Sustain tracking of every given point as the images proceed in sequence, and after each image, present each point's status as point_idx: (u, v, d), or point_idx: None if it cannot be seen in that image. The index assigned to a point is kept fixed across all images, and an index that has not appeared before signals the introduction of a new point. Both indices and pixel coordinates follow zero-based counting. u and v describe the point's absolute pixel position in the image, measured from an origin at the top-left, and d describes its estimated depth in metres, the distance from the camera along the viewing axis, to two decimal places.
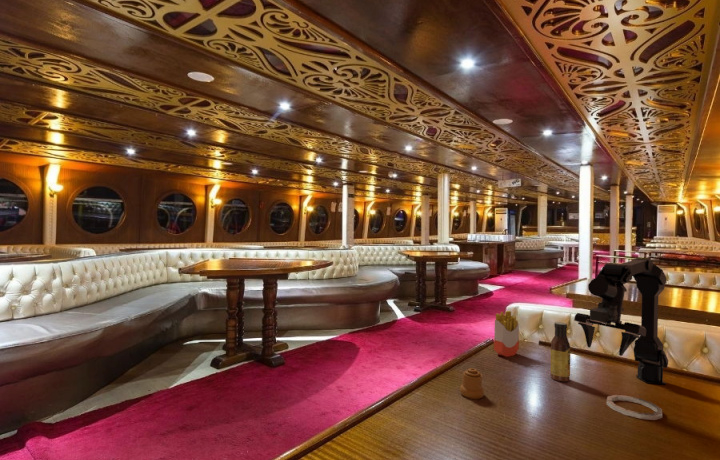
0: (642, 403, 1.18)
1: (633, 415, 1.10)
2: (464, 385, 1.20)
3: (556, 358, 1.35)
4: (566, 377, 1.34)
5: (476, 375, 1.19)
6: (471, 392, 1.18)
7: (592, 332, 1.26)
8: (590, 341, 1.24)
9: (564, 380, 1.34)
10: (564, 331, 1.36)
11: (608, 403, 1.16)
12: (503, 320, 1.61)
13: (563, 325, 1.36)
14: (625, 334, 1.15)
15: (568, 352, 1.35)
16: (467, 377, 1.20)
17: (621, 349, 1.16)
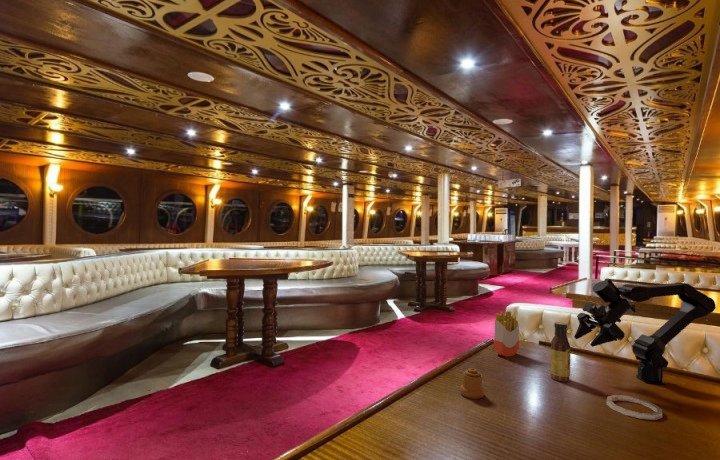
0: (642, 403, 1.18)
1: (633, 415, 1.10)
2: (464, 385, 1.20)
3: (556, 358, 1.35)
4: (566, 377, 1.34)
5: (476, 375, 1.19)
6: (471, 392, 1.18)
7: (586, 331, 1.43)
8: (579, 335, 1.42)
9: (564, 380, 1.34)
10: (564, 331, 1.36)
11: (608, 403, 1.16)
12: (503, 320, 1.61)
13: (563, 325, 1.36)
14: (602, 328, 1.32)
15: (568, 352, 1.35)
16: (467, 377, 1.20)
17: (593, 340, 1.33)
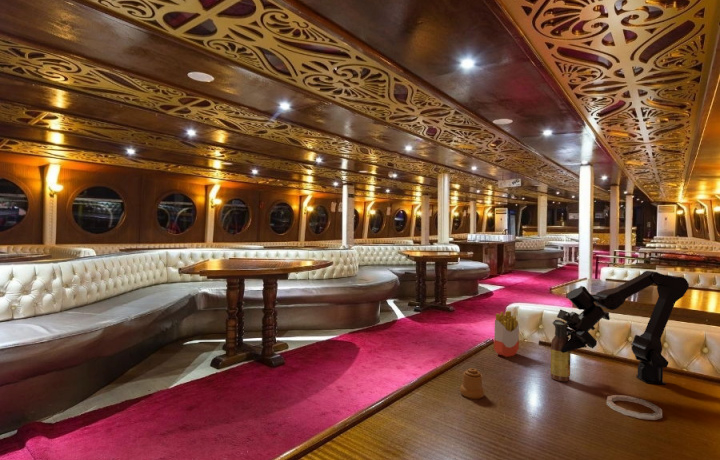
0: (642, 403, 1.18)
1: (633, 415, 1.10)
2: (464, 385, 1.20)
3: (556, 359, 1.35)
4: (566, 377, 1.34)
5: (476, 375, 1.19)
6: (471, 392, 1.18)
7: None
8: None
9: (564, 380, 1.34)
10: (564, 331, 1.36)
11: (608, 403, 1.16)
12: (503, 320, 1.61)
13: (563, 325, 1.36)
14: (572, 334, 1.33)
15: (568, 352, 1.35)
16: (467, 377, 1.20)
17: (564, 346, 1.34)
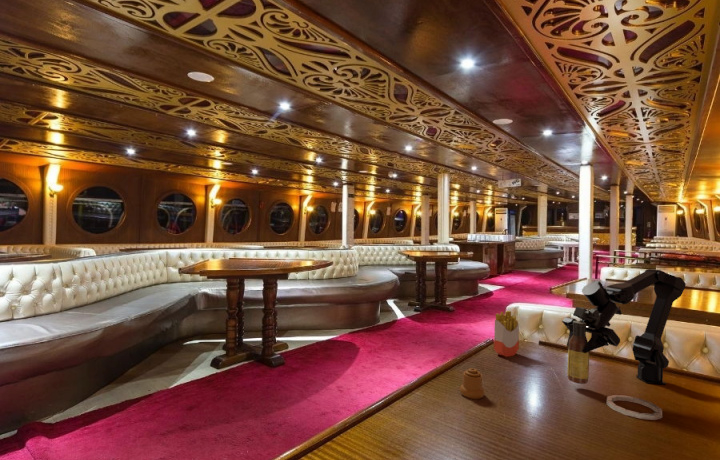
0: (642, 403, 1.18)
1: (633, 415, 1.10)
2: (464, 385, 1.20)
3: (577, 360, 1.27)
4: (586, 378, 1.27)
5: (476, 375, 1.19)
6: (471, 392, 1.18)
7: None
8: None
9: (584, 382, 1.26)
10: (584, 330, 1.28)
11: (608, 403, 1.16)
12: (503, 320, 1.61)
13: (584, 324, 1.27)
14: (594, 333, 1.25)
15: (588, 352, 1.27)
16: (467, 377, 1.20)
17: (586, 346, 1.26)
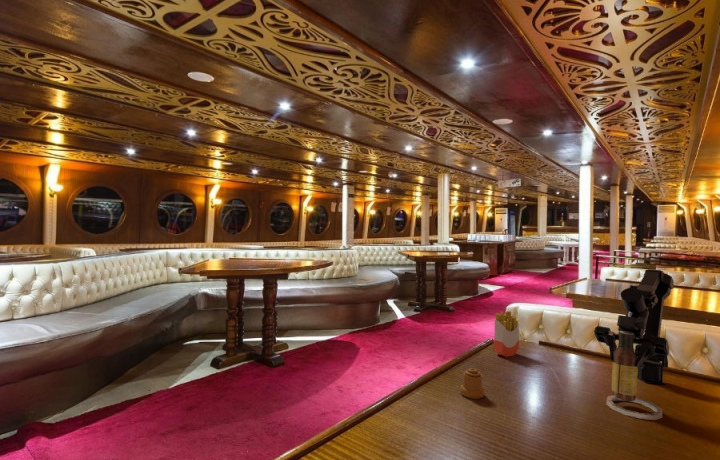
0: (642, 403, 1.18)
1: (633, 415, 1.10)
2: (464, 385, 1.20)
3: (629, 376, 1.14)
4: (635, 394, 1.15)
5: (476, 375, 1.19)
6: (471, 392, 1.18)
7: (615, 348, 1.21)
8: (613, 355, 1.19)
9: (634, 399, 1.15)
10: (633, 341, 1.16)
11: (608, 403, 1.16)
12: (503, 320, 1.61)
13: (633, 335, 1.15)
14: (645, 344, 1.14)
15: None
16: (467, 377, 1.20)
17: (638, 359, 1.14)
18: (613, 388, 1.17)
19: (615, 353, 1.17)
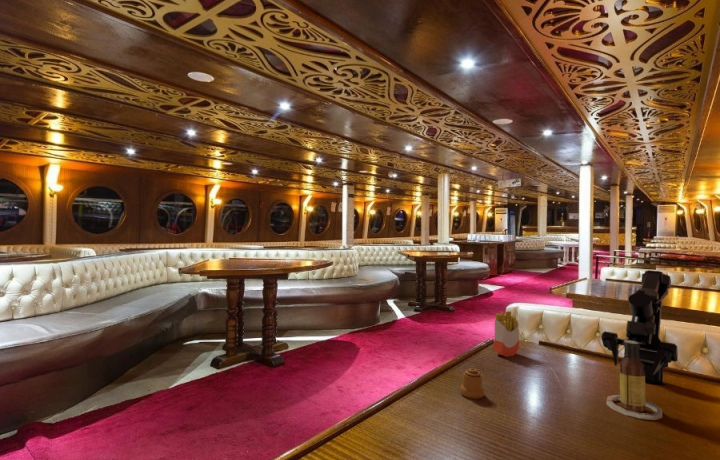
0: None
1: (633, 415, 1.10)
2: (464, 385, 1.20)
3: (638, 386, 1.12)
4: (645, 404, 1.14)
5: (476, 375, 1.19)
6: (471, 392, 1.18)
7: (617, 353, 1.21)
8: (617, 360, 1.18)
9: (644, 409, 1.13)
10: None
11: (608, 403, 1.16)
12: (503, 320, 1.61)
13: (639, 344, 1.14)
14: (661, 351, 1.12)
15: None
16: (467, 377, 1.20)
17: (655, 367, 1.11)
18: (622, 399, 1.15)
19: (622, 363, 1.16)
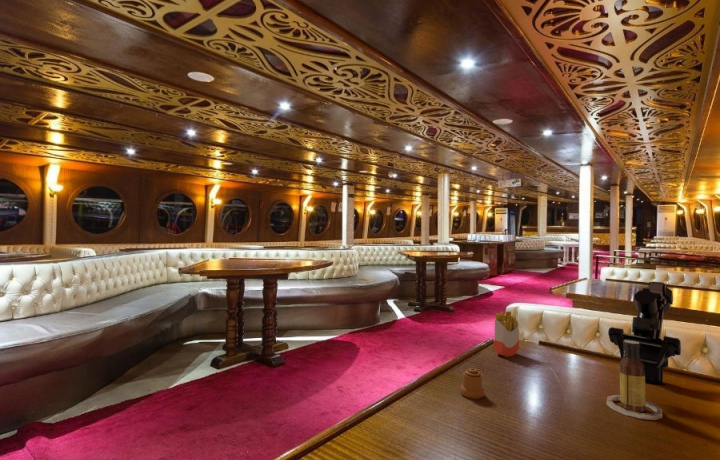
0: None
1: (633, 415, 1.10)
2: (464, 385, 1.20)
3: (638, 386, 1.12)
4: (645, 404, 1.14)
5: (476, 375, 1.19)
6: (471, 392, 1.18)
7: None
8: (623, 354, 1.25)
9: (644, 409, 1.13)
10: None
11: (608, 403, 1.16)
12: (503, 320, 1.61)
13: (639, 344, 1.14)
14: (665, 345, 1.18)
15: None
16: (467, 377, 1.20)
17: (659, 360, 1.18)
18: (622, 399, 1.15)
19: (622, 363, 1.16)
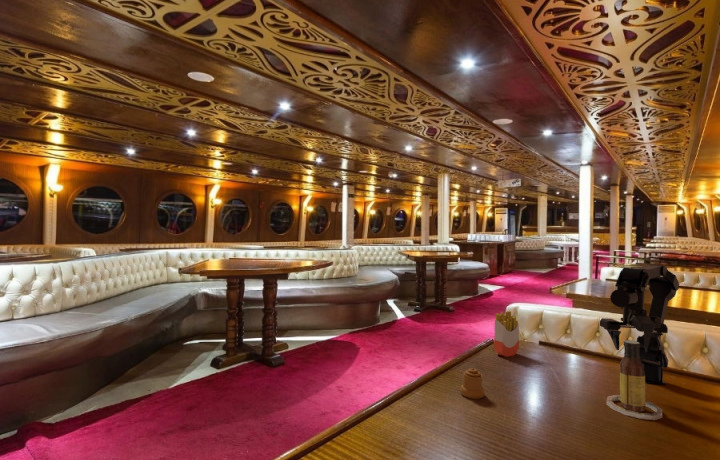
0: None
1: (633, 415, 1.10)
2: (464, 385, 1.20)
3: (638, 386, 1.12)
4: (645, 404, 1.14)
5: (476, 375, 1.19)
6: (471, 392, 1.18)
7: None
8: None
9: (644, 409, 1.13)
10: None
11: (608, 403, 1.16)
12: (503, 320, 1.61)
13: (639, 344, 1.14)
14: (657, 335, 1.27)
15: None
16: (467, 377, 1.20)
17: (649, 347, 1.29)
18: (622, 399, 1.15)
19: (622, 363, 1.16)
